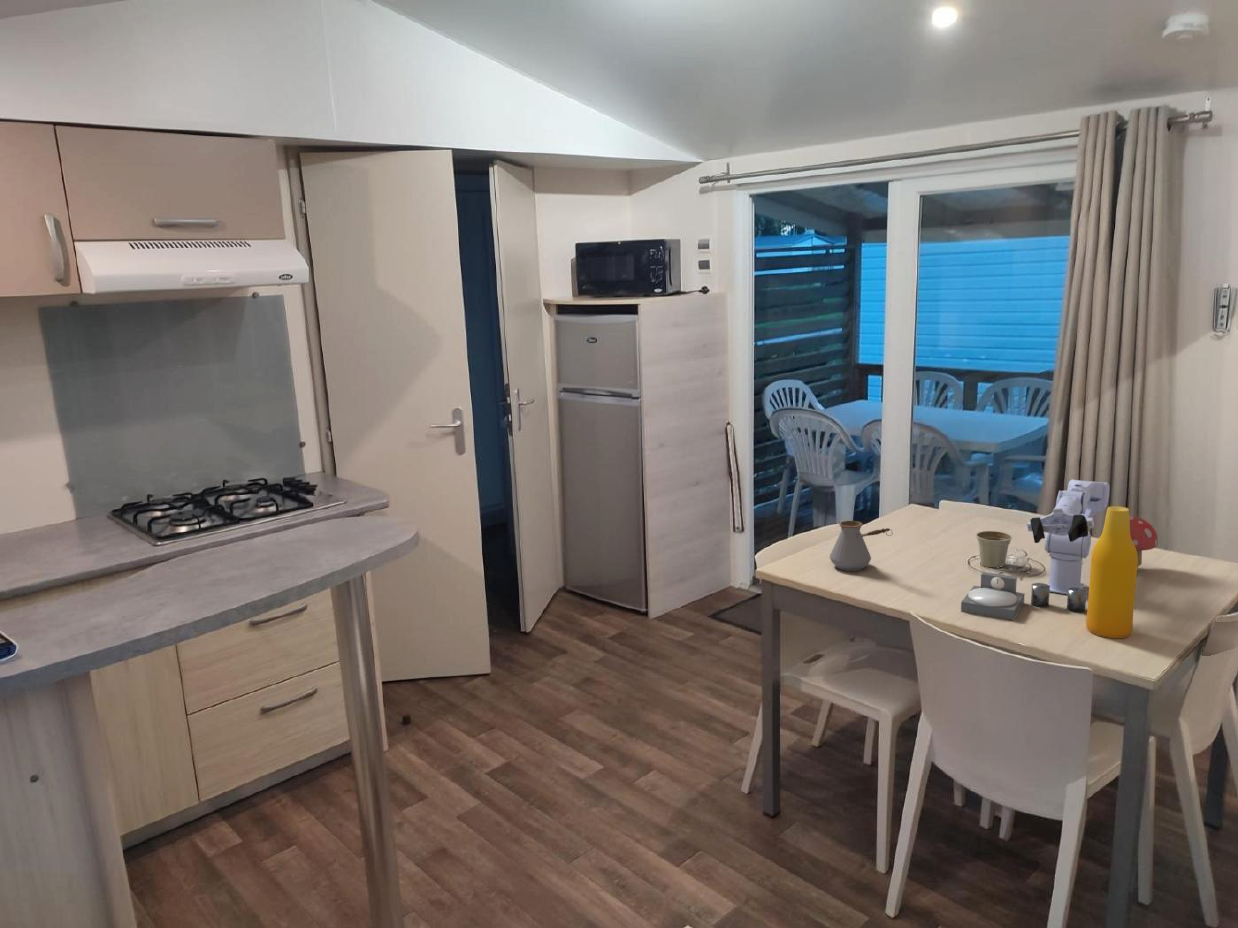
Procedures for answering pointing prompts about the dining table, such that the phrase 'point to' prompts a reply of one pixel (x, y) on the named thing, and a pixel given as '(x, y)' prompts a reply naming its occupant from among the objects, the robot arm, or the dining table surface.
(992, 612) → the dial scale
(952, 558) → the dining table surface
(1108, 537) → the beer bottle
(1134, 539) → the decorative mushroom
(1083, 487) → the robot arm
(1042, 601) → the ball
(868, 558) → the coffee pot
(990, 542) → the flower pot
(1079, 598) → the cylinder
